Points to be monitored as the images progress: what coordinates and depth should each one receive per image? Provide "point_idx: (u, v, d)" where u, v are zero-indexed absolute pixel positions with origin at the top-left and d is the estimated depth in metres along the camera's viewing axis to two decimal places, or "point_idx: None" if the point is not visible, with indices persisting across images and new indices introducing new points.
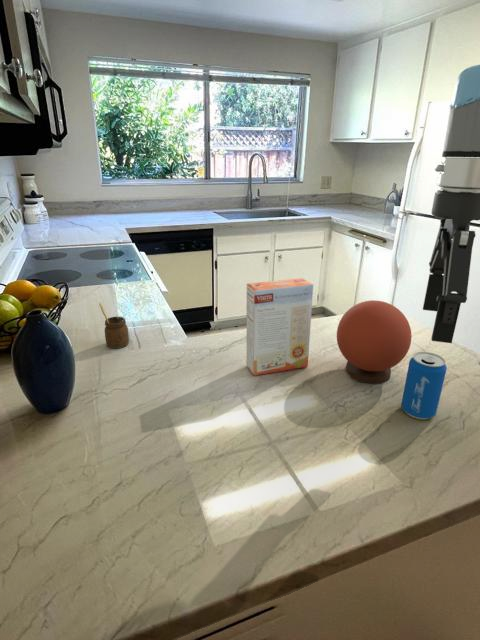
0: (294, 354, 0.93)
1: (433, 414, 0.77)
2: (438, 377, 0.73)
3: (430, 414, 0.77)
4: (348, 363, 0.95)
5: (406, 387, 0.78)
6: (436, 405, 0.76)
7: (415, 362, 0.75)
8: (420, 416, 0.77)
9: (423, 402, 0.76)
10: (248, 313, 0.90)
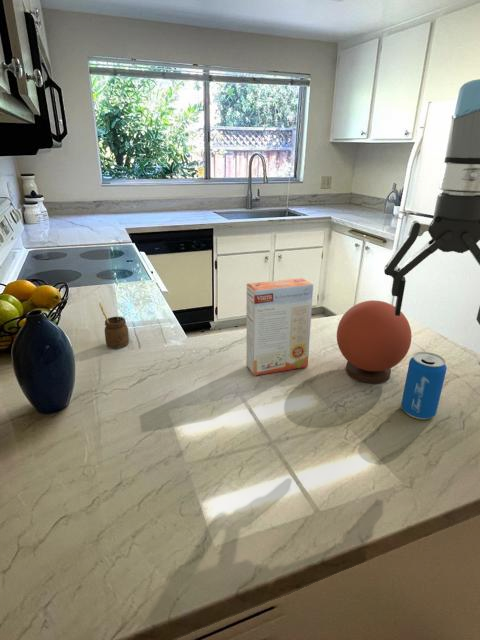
0: (294, 354, 0.93)
1: (433, 414, 0.77)
2: (438, 377, 0.73)
3: (430, 414, 0.77)
4: (348, 363, 0.95)
5: (406, 387, 0.78)
6: (436, 405, 0.76)
7: (415, 362, 0.75)
8: (420, 416, 0.77)
9: (423, 402, 0.76)
10: (248, 313, 0.90)
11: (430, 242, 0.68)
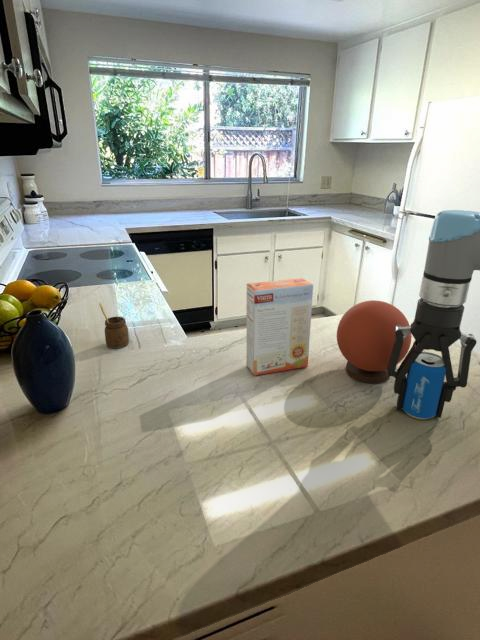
0: (294, 354, 0.93)
1: (433, 414, 0.77)
2: (438, 377, 0.73)
3: (430, 414, 0.77)
4: (348, 363, 0.95)
5: (406, 387, 0.78)
6: (436, 405, 0.76)
7: (415, 362, 0.75)
8: (420, 416, 0.77)
9: (423, 402, 0.76)
10: (248, 313, 0.90)
11: (416, 341, 0.76)
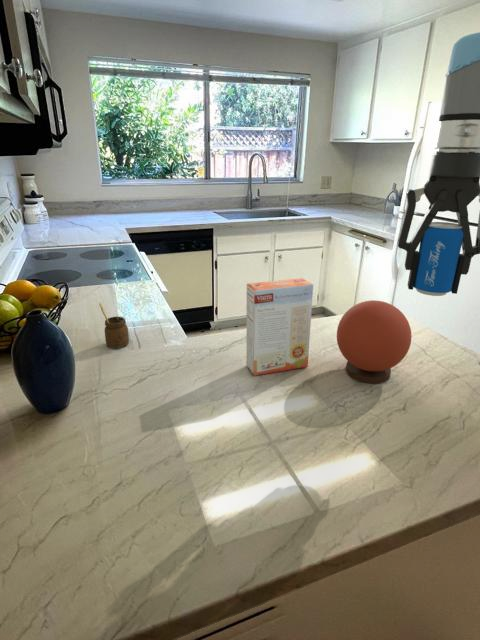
0: (294, 354, 0.93)
1: (449, 288, 0.70)
2: (455, 241, 0.66)
3: (446, 288, 0.70)
4: (348, 363, 0.95)
5: (419, 260, 0.71)
6: (452, 278, 0.69)
7: (429, 228, 0.68)
8: (434, 290, 0.70)
9: (438, 273, 0.68)
10: (248, 313, 0.90)
11: (430, 207, 0.69)
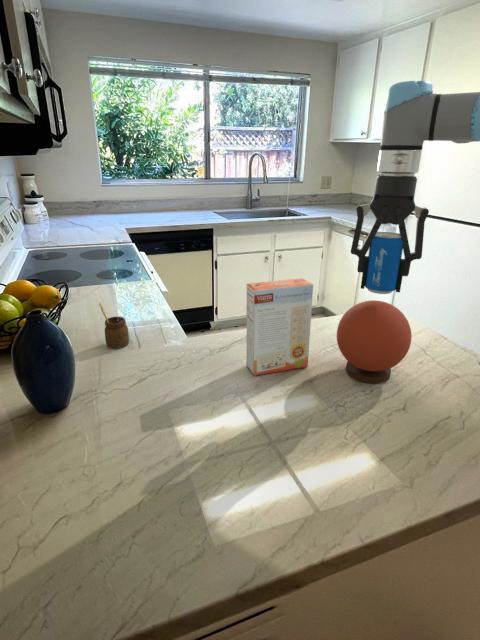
0: (294, 354, 0.93)
1: (392, 288, 0.83)
2: (395, 248, 0.80)
3: (390, 288, 0.83)
4: (348, 363, 0.95)
5: (368, 264, 0.84)
6: (395, 279, 0.83)
7: (375, 237, 0.82)
8: (380, 289, 0.83)
9: (383, 275, 0.82)
10: (248, 313, 0.90)
11: (376, 220, 0.83)
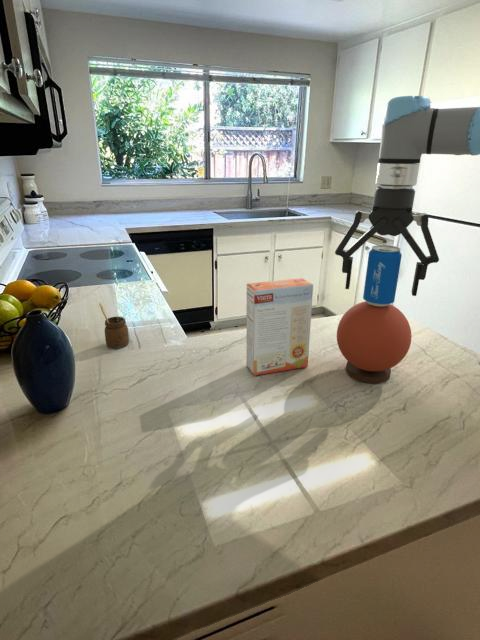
0: (294, 354, 0.93)
1: (390, 300, 0.84)
2: (393, 262, 0.81)
3: (388, 300, 0.84)
4: (348, 363, 0.95)
5: (366, 277, 0.85)
6: (393, 291, 0.84)
7: (373, 251, 0.83)
8: (378, 302, 0.84)
9: (381, 288, 0.83)
10: (248, 313, 0.90)
11: (371, 228, 0.84)
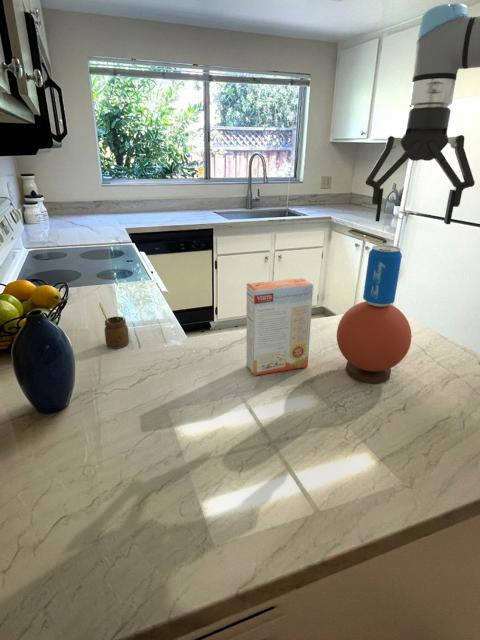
0: (294, 354, 0.93)
1: (390, 300, 0.84)
2: (393, 262, 0.81)
3: (388, 300, 0.84)
4: (348, 363, 0.95)
5: (366, 277, 0.85)
6: (393, 292, 0.84)
7: (373, 251, 0.83)
8: (378, 302, 0.84)
9: (381, 288, 0.83)
10: (248, 313, 0.90)
11: (403, 155, 0.81)
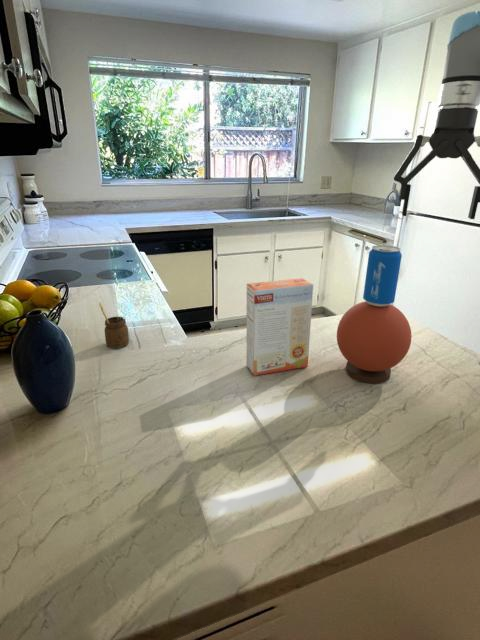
0: (294, 354, 0.93)
1: (390, 300, 0.84)
2: (393, 262, 0.81)
3: (388, 300, 0.84)
4: (348, 363, 0.95)
5: (366, 277, 0.85)
6: (393, 292, 0.84)
7: (373, 251, 0.83)
8: (378, 302, 0.84)
9: (381, 288, 0.83)
10: (248, 313, 0.90)
11: (430, 153, 0.86)
